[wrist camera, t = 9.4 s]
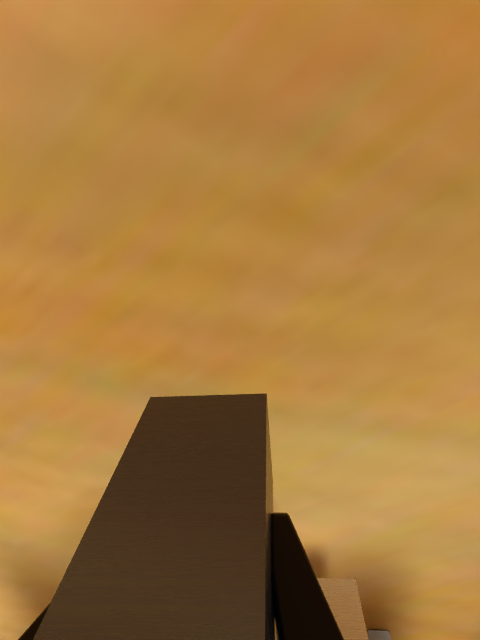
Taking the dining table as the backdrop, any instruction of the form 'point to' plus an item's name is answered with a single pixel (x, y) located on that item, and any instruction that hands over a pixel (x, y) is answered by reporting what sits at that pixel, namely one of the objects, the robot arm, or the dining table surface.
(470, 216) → the dining table surface
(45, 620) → the grey angular piece
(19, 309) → the dining table surface
